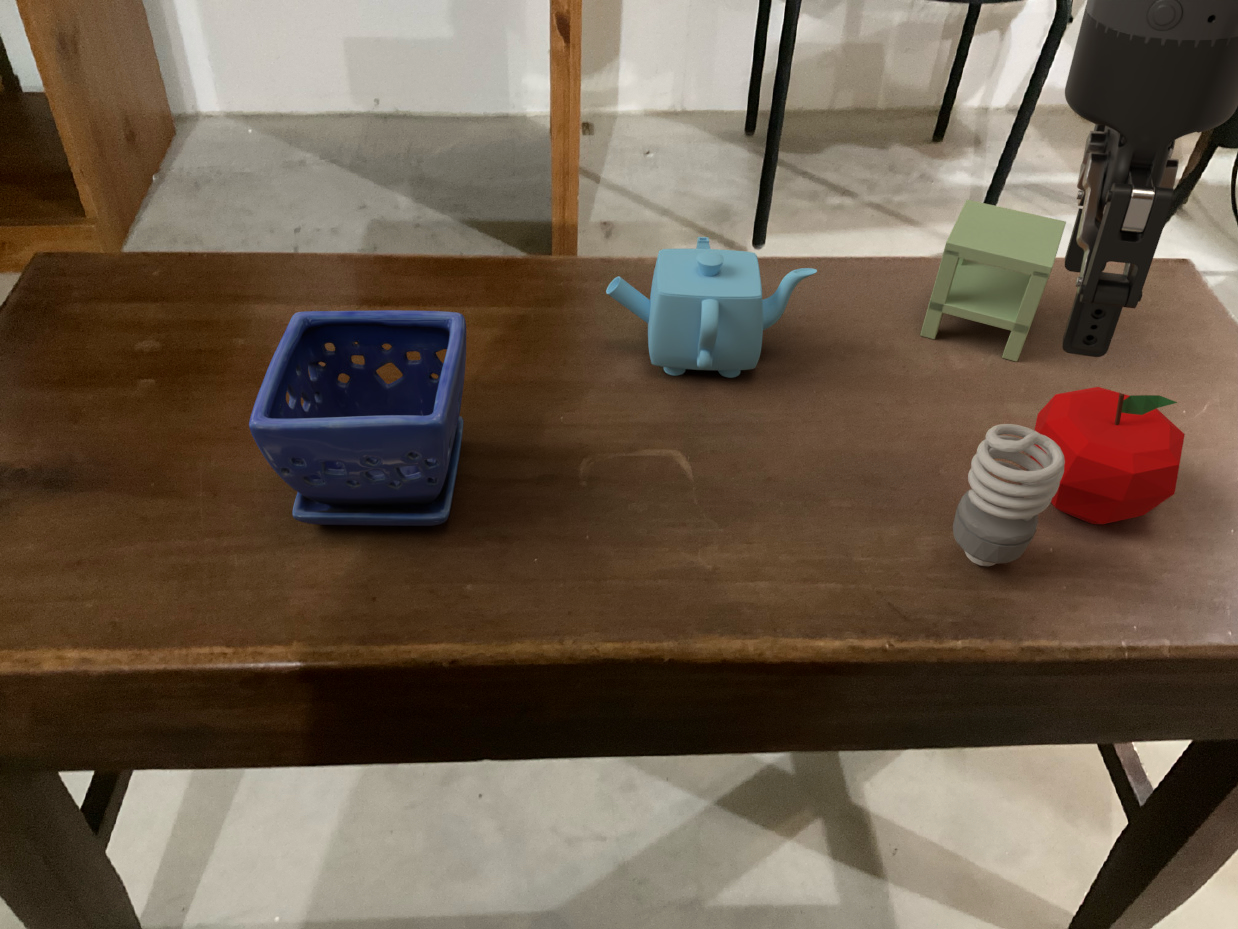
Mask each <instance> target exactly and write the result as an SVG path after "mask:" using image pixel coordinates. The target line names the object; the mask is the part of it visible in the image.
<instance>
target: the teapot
mask: <svg viewBox="0 0 1238 929" xmlns="http://www.w3.org/2000/svg"><path fill="white" fill-rule="evenodd" d="M695 247H696V248H663V249H660V250H659V251H658V254H657V257H656V262H655V267H654V270H653V276H652V281H651V288H650V296H649V298H648V297H646V296H645V295H644V294H643V293H641V292H640V291H639V290H638V289H636V288H635V287H634V286H633V285H631V284H630V283H629V282H628V281H626V280H625V279H623V277H621V276H619V275H618V276H616V277H614V278H613V280H611V282H610V283H609V284H608V286H607V288H606V290H605V292H606V293H605V294H607V296H609V297H611V298H612V299H613V300H615V301H616V302H617V303H619V305H621V306H623V307H624V308H626V309H627V310H629V311H630V312H631V313H633V314H634V315H635V316H636V317H638V318H640V319H641V320H642V321H643V322H645V323H647V344H648V345H647V346H648V353H649V359H650V363H651V365H653V366H655V367H662V368H663V371H664V372H665V373H666V374H667V375H670V376H681V375H683V374H684V373H685V372H686V370H694V371H695V370H696V371H717V372H718V373H719V374H720V375H721V376H722V377H724V378H731V379H732V378H736V377H738V376H740V374H741V371H746V370H747V371H748V370H753V369H756V367H757V365H758V362H759V360H760V356H761V353H762V346H763V336H764V334H763V333H764V331H765V330H768V329H770V328H771V327H772V326H774V325H775V324H777V322H778V321H779V320H780V319H781V318H782V316H783V314H784V312H785V310H786V308H787V306H788V303H789V300H790V299H791V295H792V294H793V292H794V290H795V288H796V287H797V285H798V284H799V283H800V282H802V281H803V280H804V279H806V278H808V277H810V276H813V275H815V274H816V273H817V272H818V269H816V268H811V267H803V268H796V269H793V270H791V271H790V272H788V273H786V275H785V276H784V277H783V278H782V280H781V281H780V283H779V285H778V287H777V289H776V290H775V292H774V293H772V294H771V295H770V296H768V297H766V298H763V288H762V280H761V279H762V278H761V271H760V264H759V258H758V256H757V254H756V253H755V252H752V251H745V250H734V249H719V248H718V249H717V248H716V249H715V248H711V246H710V239H709V236H708V237H707V236H697V241H696V246H695Z"/></svg>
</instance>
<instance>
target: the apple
mask: <svg viewBox="0 0 1238 929" xmlns="http://www.w3.org/2000/svg"><path fill="white" fill-rule="evenodd" d="M1178 403H1179V402H1177V401H1176V400H1172V399H1170V398H1167V397H1164V396H1162V395H1158V394H1141V395H1139V394H1138V395H1136V394H1134V395H1133V394H1132V395H1130V394H1126V393H1122V392H1118V391H1115V390H1111V389H1107V388H1105V387H1100V386H1094V387H1088V388H1083V389H1077V390H1071V391H1066V392H1062V393H1061V392H1060V393H1056V394H1054V395H1053V396H1052V397H1051V399H1050V400H1049V401H1048V402H1047V403H1046V404H1045V405H1044V406H1043V407H1042V408H1041V409H1040V411H1038V413H1037V416H1036V420H1035V426H1034V429H1033V430H1034V431H1036V432H1038V433H1040V434H1042V435H1045V436H1047V437H1048V438H1050V439H1052V440H1053V441H1054V442H1055V443H1056V444H1057V445H1058V446H1059V447H1060V448H1061V450H1062V452H1063V455H1064V460H1065V464H1064V473H1063V476H1062V479H1061V480H1060V484H1059V488H1058V490H1057V492H1056V494H1055V496H1054V497H1053V498H1052V500H1051V502H1050V504H1051V505H1052V506H1053V507H1054V508H1055V509H1057V510H1058V511H1059V512H1061V513H1064V514H1067V515H1069V516H1071V517H1074V518H1076V519H1079V520H1082V521H1084V522H1087V523H1090V524H1092V525H1105V524H1110V523H1114V522H1115V523H1116V522H1121V521H1124V520H1128V519H1129V520H1130V519H1133V518H1137V517H1143V516H1145V515H1146V514H1148V513H1149V512H1151V511H1152V510H1154V509H1155V508H1156V507H1158V506H1160V505H1161V504H1162V503H1164V502H1165V501H1167V500H1168V499H1169V498H1171V497H1173V496H1174V495H1175V494H1176V488H1177V482H1178V476H1179V471H1180V464H1181V459H1182V452H1183V446H1184V440H1185V435H1186V434H1185V432H1183V431H1182V430H1181V429H1180V428H1179V427H1178V426H1177V425H1175V423H1173V422H1172V421H1171V420H1170V419H1169V418H1168V417H1167V416H1165V414H1164V413H1163V412H1162V411H1160V410H1159V408H1163V407H1167V406H1171V405H1174V404H1178ZM1034 445H1035V444H1034ZM1035 446H1037V447H1038V448H1040V449H1041V450H1043V449H1042V448H1041V447H1040V446H1038V445H1035ZM1043 451H1044V450H1043ZM1044 452H1045V451H1044ZM1045 453H1046V452H1045ZM1046 454H1047V453H1046ZM1047 455H1048V454H1047ZM1029 457H1030V458H1032V459H1033V460H1035V461H1036V462H1037V463H1038V464H1040V463H1039V462H1038V461H1037V460H1036V459H1035V458H1034V457H1032V456H1031V455H1029ZM1040 465H1041V464H1040ZM1041 466H1042V465H1041ZM1042 467H1043V466H1042ZM1043 469H1044V468H1043ZM1038 483H1039V482H1038Z"/></svg>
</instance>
